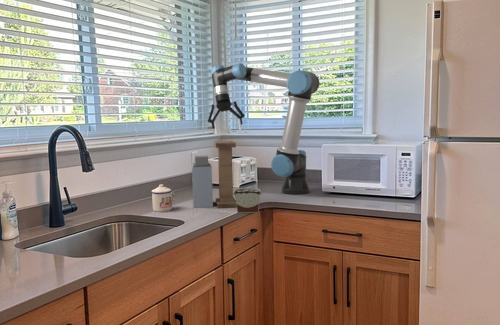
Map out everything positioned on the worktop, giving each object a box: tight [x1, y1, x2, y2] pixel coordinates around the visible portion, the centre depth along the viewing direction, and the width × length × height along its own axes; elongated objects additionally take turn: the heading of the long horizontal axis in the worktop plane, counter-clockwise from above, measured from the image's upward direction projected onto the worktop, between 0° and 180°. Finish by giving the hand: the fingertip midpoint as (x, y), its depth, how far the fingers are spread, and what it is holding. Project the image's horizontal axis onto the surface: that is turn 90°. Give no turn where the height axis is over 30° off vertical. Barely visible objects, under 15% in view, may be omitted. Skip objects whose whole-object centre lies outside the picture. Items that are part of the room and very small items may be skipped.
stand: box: [213, 140, 237, 209], centre depth 208 cm, size 14×9×30 cm, turn 8°
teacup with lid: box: [151, 184, 176, 213], centre depth 202 cm, size 12×9×12 cm
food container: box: [233, 187, 262, 214], centre depth 195 cm, size 12×6×10 cm, turn 84°
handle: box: [194, 154, 209, 166], centre depth 214 cm, size 19×6×4 cm, turn 8°
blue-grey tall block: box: [191, 162, 214, 209], centre depth 210 cm, size 11×9×20 cm
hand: (228, 132), depth 238 cm, fingers open, 13 cm apart
